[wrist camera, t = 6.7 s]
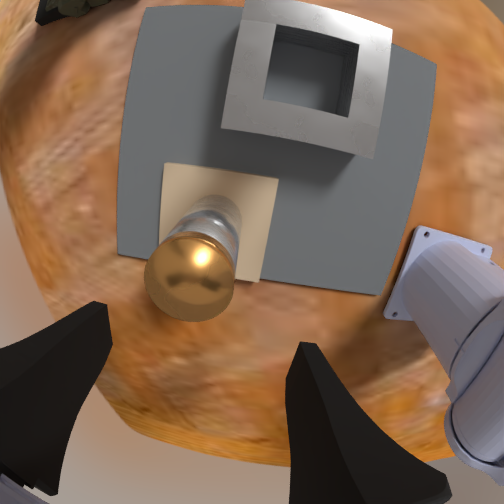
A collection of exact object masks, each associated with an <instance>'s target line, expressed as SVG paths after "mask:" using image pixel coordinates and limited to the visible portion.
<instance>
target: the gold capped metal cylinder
mask: <svg viewBox="0 0 504 504" xmlns="http://www.w3.org/2000/svg"><path fill="white" fill-rule="evenodd" d="M241 228H242V216H241V213H240V210H239V209H238V207H237V206H236V204H235V203H234V202H233V201H231V200H230V199H228V198H227V197H224V196H221V195H207V196H204V197H202V198H200V199H199V200H197V201H196V202H195V203H194V204H193V205H192V207H191V208H190V209H189V210H188V211H187V212H186V214H185V215H184V216H183V217H182V218H181V219H180V221H179V222H178V223H177V224H176V225H175V226H174V228H173V229H172V230H171V231H170V232H169V234H168V235H167V236H166V237H165V239H164V240H163V241H162V242H161V243H160V245H159V246H158V247H157V248H156V250H155V251H154V252H153V253H152V255H151V256H150V258H149V259H148V261H147V263H146V266H145V271H144V282H145V286H146V290H147V292H148V294H149V296H150V298H151V299H152V301H153V302H154V303H155V304H156V306H157V307H158V308H160V309H161V310H162V311H163V312H165V313H166V314H168V315H170V316H171V317H174V318H176V319H179V320H182V321H188V322H200V321H205V320H209V319H212V318H214V317H216V316H217V315H219V314H220V313H221V312H223V311H224V310H225V309H226V307H227V306H228V305H229V303H230V301H231V299H232V296H233V290H234V283H235V275H236V267H237V259H238V251H239V243H240V236H241Z"/></svg>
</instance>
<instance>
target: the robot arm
mask: <svg viewBox="0 0 504 504" xmlns="http://www.w3.org/2000/svg"><path fill="white" fill-rule="evenodd" d="M425 232H427V235H426V236H424V234H425ZM481 249H482V250H481ZM491 254H492V247H490V246H489V245H486V244H482V243H479V242H476V241H473V240H470V239H467V238H463V237H460V236H457V235H453V234H450V233H446V232H443V231H440V230H436V229H432V228H429V227H425V226H417V227H416V229H415V231H414V234H413V237H412V240H411V243H410V246H409V249H408V252H407V254H406V257H405V260H404V263H403V265H402V268H401V271H400V273H399V276H398V278H397V281H396V283H395V286H394V288H393V291H392V293H391V296H390V298H389V300H388V303H387V305H386V307H385V309H384V312H383V315H384V317H385V318H386V319H395V320H407V321H414V322H415V323H416V325H417V326H418V328H419V329H420V331H421V333H422V334H423V336H424V337H425V339H426V340H427V342H428V344H429V345H430V347H431V348H432V350H433V352H434V353H435V355H436V356H437V358H438V360H439V361H440V363H441V365H442V366H443V368H444V370H445V372H446V373H447V375H448V377H449V378H450V380H451V381H450V384H449V386H448V387H447V389H446V393H447V395H448V397H449V399H450V401H451V404H450V405H449V407H448V409H447V411H446V414H445V418H444V429H445V434H446V438H447V441H448V443H449V445H450V447H451V449H452V450H453V452H454V453H455V455H456V456H457V457H458V458H459V459H460V460H462V462H464V463H465V464H467V465H468V466H470V467H473V468H475V469H479V470H481V471H483V472H485V473H487V474H488V475H489V476H490V477H491V478H492V479H493V480H494V481H495V482H496V483H497V484H498V485H499V486H504V270H503V269H502V268H501V267H499V266H498V265H497V264H495V263H494V262H493V261H492V260H490V257H491ZM394 312H396V313H395V314H393V313H394ZM392 314H393V315H392ZM112 345H113V342H112V336H111V330H110V323H109V316H108V308H107V304H103V303H100V302H96V301H93V302H90V303H89V304H87V305H85V306H83V307H81V308H80V309H78V310H76V311H74V312H73V313H71V314H69V315H68V316H66V317H64V318H62V319H61V320H59V321H57V322H55V323H54V324H52V325H50V326H48V327H47V328H45V329H43V330H41V331H39V332H37V333H35V334H33V335H31V336H29V337H27V338H25V339H23V340H21V341H19V342H16V343H14V344H11V345H9V346H6V347H4V348H0V504H49V503H47V502H45V501H43V500H42V499H40V498H38V497H37V496H35V495H33V494H32V493H30V492H28V491H27V490H25V489H24V488H23V486H24V484H25V485H26V486H28V487H29V488H31V489H33V488H34V487H35V488H37V489H39V490H40V491H42V492H44V493H46V494H47V495H49V496H54V495H57V494H58V487H59V481H60V474H61V469H62V464H63V459H64V455H65V451H66V447H67V444H68V441H69V438H70V434H71V431H72V429H73V426H74V423H75V420H76V418H77V415H78V413H79V411H80V409H81V406H82V404H83V403H84V401H85V399H86V397H87V395H88V394H89V392H90V390H91V388H92V386H93V385H94V383H95V381H96V379H97V378H98V376H99V374H100V372H101V370H102V369H103V367H104V365H105V362H106V360H107V358H108V355H109V353H110V350H111V348H112ZM285 404H286V414H287V424H288V434H289V443H290V455H291V474H290V475H291V476H290V495H289V504H444V503H445V502H447V501H448V500H449V499H450V498H451V497H452V493H451V490H450V486H449V483H448V480H447V477H446V475H445V474H444V473H442V472H440V471H438V470H436V469H434V468H433V467H431V466H429V465H427V464H426V463H424V462H422V461H421V460H419V459H418V458H416V457H415V456H413V455H412V454H410V453H409V452H408V451H406V450H405V449H404V448H402V447H401V446H400V445H398V444H397V443H396V442H395V441H394V440H393V439H391V438H390V437H389V436H388V435H387V434H386V433H385V432H383V431H382V430H381V429H380V428H379V427H378V426H377V425H376V424H375V423H374V422H373V421H372V419H371V418H370V417H369V416H368V415H367V414H366V413H365V412H364V411H363V410H362V409H361V407H360V406H359V405H358V404H357V402H356V401H355V400H354V399H353V397H352V396H351V395H350V393H349V392H348V391H347V389H346V388H345V387H344V385H343V384H342V382H341V381H340V379H339V378H338V377H337V375H336V374H335V372H334V371H333V369H332V367H331V366H330V364H329V363H328V361H327V360H326V358H325V357H324V355H323V353H322V352H321V350H320V349H319V347H318V346H317V344H316V343H308V342H300V343H299V345H298V348H297V351H296V353H295V356H294V359H293V361H292V364H291V366H290V369H289V372H288V374H287V377H286V389H285Z"/></svg>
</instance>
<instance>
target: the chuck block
mask: <svg viewBox="0 0 504 504" xmlns="http://www.w3.org/2000/svg"><path fill="white" fill-rule="evenodd" d="M274 41H278V42H283V43H289V44H294V45H299V46H304V47H308V48H313V49H317V50H321V51H325V52H329V53H332V54H336V55H340V56H343V57H344V64H343V70H342V77H341V83H340V89H339V95H338V101H337V106H336V112H335V114H332V113H328V112H324V111H320V110H315V109H311V108H307V107H302V106H297V105H292V104H287V103H282V102H277V101H271V100H265V99H264V93H265V87H266V82H267V76H268V71H269V65H270V60H271V54H272V49H273V44H274ZM391 41H392V29H389V28H387V27H384V26H382V25H379V24H376V23H374V22H371V21H368V20H365V19H362V18H359V17H356V16H353V15H350V14H347V13H343V12H340V11H337V10H333V9H329V8H325V7H321V6H317V5H313V4H308V3H304V2H299V1H294V0H245V5H244V9H243V13H242V18H241V22H240V27H239V32H238V37H237V41H236V46H235V51H234V56H233V61H232V67H231V72H230V77H229V83H228V88H227V94H226V100H225V106H224V112H223V118H222V124H221V128H223V129H231V130H238V131H245V132H252V133H258V134H264V135H270V136H275V137H281V138H286V139H291V140H296V141H301V142H306V143H310V144H315V145H319V146H324V147H328V148H332V149H336V150H340V151H344V152H348V153H352V154H355V155H359V156H363V157H366V158H370V159H373V157H374V153H375V148H376V143H377V138H378V133H379V127H380V122H381V116H382V110H383V104H384V98H385V91H386V84H387V77H388V69H389V61H390V51H391Z"/></svg>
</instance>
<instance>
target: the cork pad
mask: <svg viewBox="0 0 504 504" xmlns="http://www.w3.org/2000/svg"><path fill="white" fill-rule="evenodd" d="M278 181H279V179H278V178H276V177H270V176H264V175H259V174H253V173H246V172H240V171H233V170H226V169H219V168H212V167H204V166H196V165H188V164H179V163H170V162H167V163H164V172H163V183H162V196H161V210H160V229H159V245H160V243H161V242H162V241H163V240H164V239H165V237H166V236H167V235H168V234H169V232H170V231H171V230H172V229H173V228H174V226H175V225H176V224H177V223H178V222H179V221H180V219H181V218H182V217H183V216H184V215H185V214H186V212H187V211H188V210H189V209H190V208H191V207H192V205H193V204H194V203H195V202H196V201H197V200H199V199H200V198H202V197H204V196H207V195H221V196H224V197H227V198H228V199H230V200H231V201H233V202H234V203H235V204H236V206H237V207H238V209H239V210H240V213H241V216H242V228H241V236H240V243H239V251H238V259H237V267H236V275H235V279H240V280H246V281H253V282H259V279H260V274H261V269H262V264H263V259H264V254H265V249H266V244H267V239H268V233H269V228H270V223H271V218H272V213H273V208H274V202H275V197H276V192H277V187H278Z"/></svg>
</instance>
